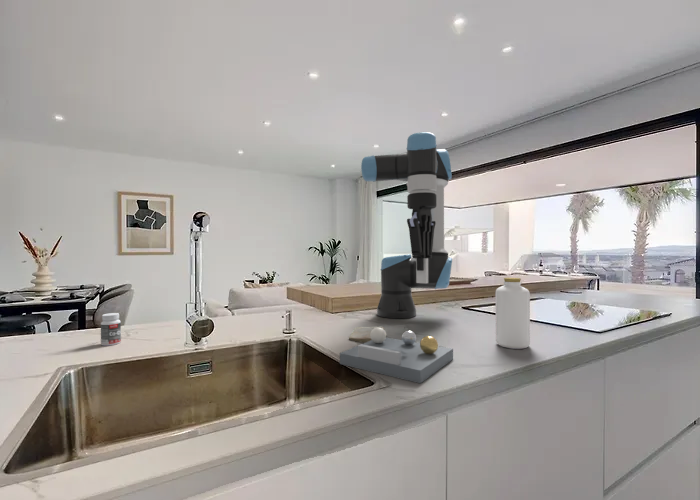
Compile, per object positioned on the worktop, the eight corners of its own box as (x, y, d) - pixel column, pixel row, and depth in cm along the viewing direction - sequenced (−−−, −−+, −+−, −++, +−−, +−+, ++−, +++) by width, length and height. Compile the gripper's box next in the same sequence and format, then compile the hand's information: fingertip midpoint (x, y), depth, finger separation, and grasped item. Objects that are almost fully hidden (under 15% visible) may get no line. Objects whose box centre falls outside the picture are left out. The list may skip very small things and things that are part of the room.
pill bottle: (111, 346, 98) (110, 316, 98) (96, 345, 99) (96, 315, 99) (125, 341, 102) (124, 312, 102) (111, 341, 103) (110, 312, 103)
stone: (384, 347, 96) (384, 338, 96) (346, 346, 97) (346, 337, 97) (387, 333, 110) (387, 325, 110) (353, 332, 112) (353, 324, 112)
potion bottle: (522, 341, 99) (522, 276, 98) (535, 350, 90) (535, 279, 90) (491, 341, 99) (491, 276, 99) (501, 349, 91) (501, 279, 91)
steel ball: (405, 342, 90) (405, 328, 90) (418, 344, 88) (418, 330, 88) (399, 345, 87) (399, 331, 87) (412, 347, 85) (412, 333, 85)
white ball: (375, 340, 92) (375, 324, 92) (389, 342, 90) (389, 326, 90) (367, 343, 89) (367, 327, 89) (381, 346, 86) (380, 329, 86)
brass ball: (424, 350, 83) (424, 333, 83) (440, 353, 81) (440, 335, 81) (417, 354, 80) (416, 336, 80) (433, 357, 77) (433, 339, 77)
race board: (380, 345, 96) (380, 327, 96) (453, 359, 84) (452, 338, 84) (339, 363, 81) (339, 342, 81) (420, 383, 70) (420, 357, 69)
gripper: (419, 197, 101) (419, 280, 101) (397, 191, 90) (397, 284, 91) (444, 195, 97) (445, 281, 97) (424, 188, 86) (425, 286, 86)
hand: (422, 282), depth 94 cm, fingers closed
